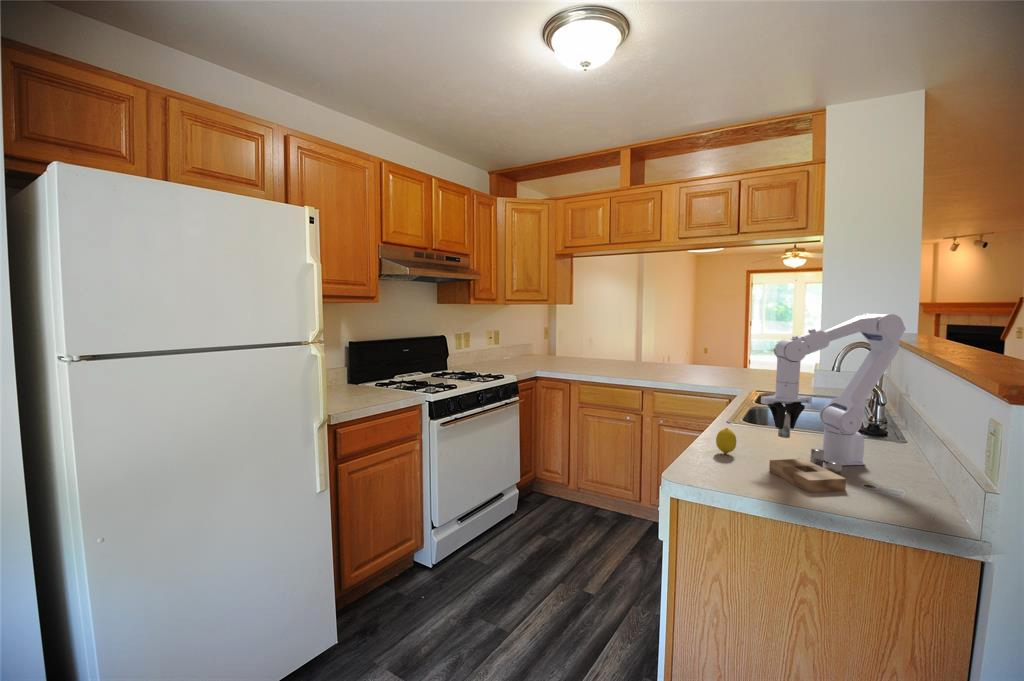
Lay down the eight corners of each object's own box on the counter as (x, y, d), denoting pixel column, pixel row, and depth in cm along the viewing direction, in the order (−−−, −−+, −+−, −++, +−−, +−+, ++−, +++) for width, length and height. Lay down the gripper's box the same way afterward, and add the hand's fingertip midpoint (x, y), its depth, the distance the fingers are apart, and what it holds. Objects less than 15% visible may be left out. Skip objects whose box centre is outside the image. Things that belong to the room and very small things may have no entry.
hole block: (802, 469, 127) (803, 458, 126) (845, 490, 113) (846, 478, 113) (769, 470, 126) (769, 460, 125) (808, 492, 112) (809, 480, 111)
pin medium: (817, 465, 130) (818, 448, 130) (825, 469, 127) (826, 451, 127) (807, 465, 130) (808, 448, 129) (815, 469, 127) (816, 452, 126)
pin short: (834, 473, 124) (835, 460, 124) (843, 477, 121) (844, 464, 121) (824, 473, 124) (825, 461, 123) (833, 478, 121) (834, 465, 120)
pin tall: (784, 434, 135) (786, 411, 135) (792, 437, 133) (794, 413, 132) (775, 435, 135) (777, 411, 134) (782, 438, 132) (784, 414, 131)
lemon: (737, 457, 136) (739, 431, 135) (717, 456, 137) (719, 430, 136) (732, 451, 141) (734, 426, 140) (713, 450, 142) (714, 425, 141)
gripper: (800, 378, 137) (797, 423, 138) (755, 379, 135) (752, 424, 137) (818, 383, 130) (815, 430, 131) (771, 384, 128) (768, 431, 130)
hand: (784, 428), depth 134 cm, fingers closed on pin tall, 3 cm apart
